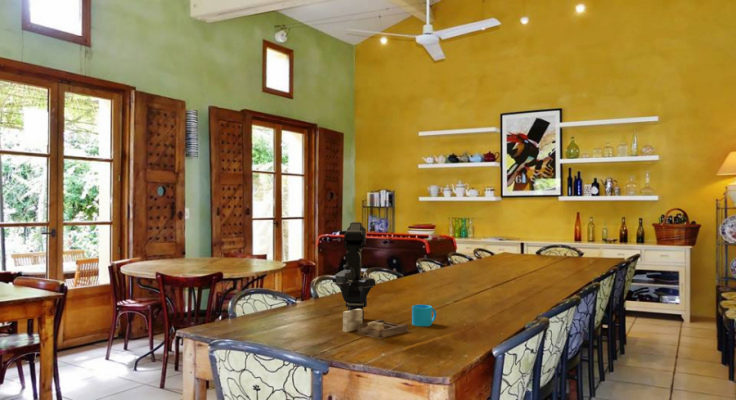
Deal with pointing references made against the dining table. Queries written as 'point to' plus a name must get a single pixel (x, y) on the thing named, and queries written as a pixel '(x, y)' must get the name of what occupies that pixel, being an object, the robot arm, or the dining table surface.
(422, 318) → the mug
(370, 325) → the offcut top
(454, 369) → the dining table surface
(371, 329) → the offcut low
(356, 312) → the block
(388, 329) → the rack
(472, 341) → the dining table surface
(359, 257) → the robot arm
